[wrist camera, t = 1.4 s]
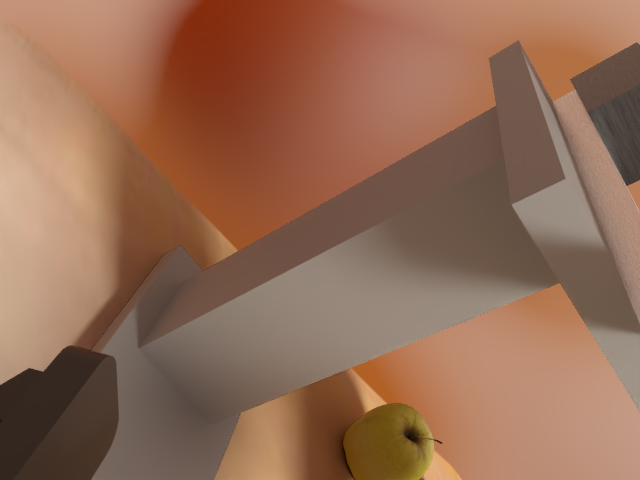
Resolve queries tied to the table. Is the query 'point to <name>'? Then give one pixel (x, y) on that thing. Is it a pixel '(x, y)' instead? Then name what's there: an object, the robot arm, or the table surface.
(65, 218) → the table surface
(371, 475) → the apple
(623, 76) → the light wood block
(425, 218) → the gray stand
